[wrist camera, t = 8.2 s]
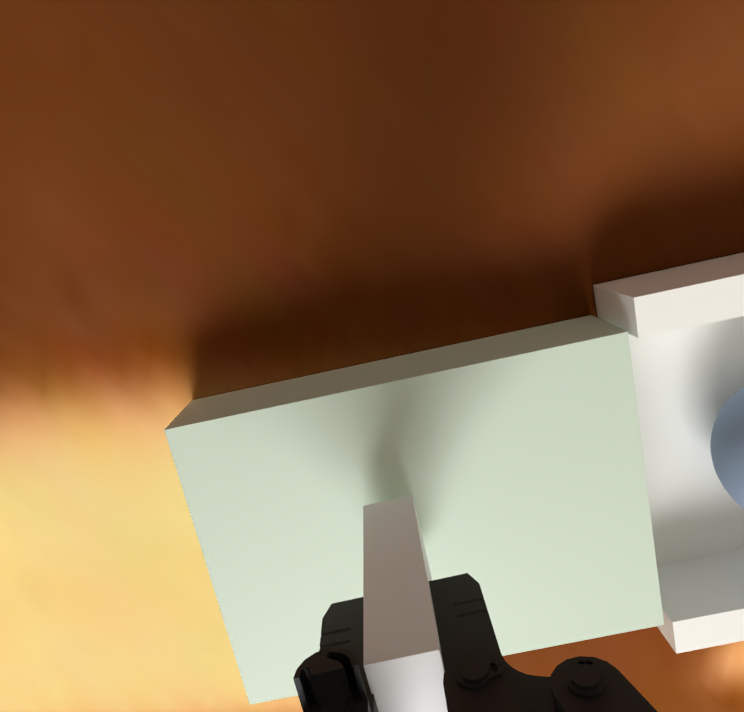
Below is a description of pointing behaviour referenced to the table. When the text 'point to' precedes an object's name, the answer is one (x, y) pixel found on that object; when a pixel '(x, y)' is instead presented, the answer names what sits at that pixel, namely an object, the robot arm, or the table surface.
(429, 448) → the board
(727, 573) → the tray
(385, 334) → the table surface
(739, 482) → the ball
